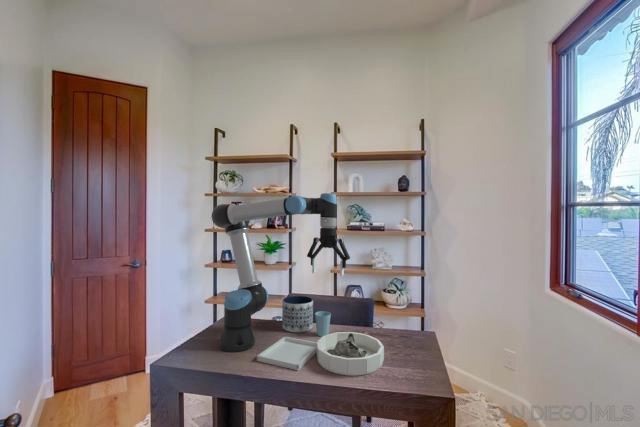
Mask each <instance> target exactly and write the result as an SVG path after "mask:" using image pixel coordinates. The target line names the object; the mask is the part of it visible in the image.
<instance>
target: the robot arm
mask: <svg viewBox="0 0 640 427" xmlns="http://www.w3.org/2000/svg"><path fill="white" fill-rule="evenodd" d="M337 197H338V196H337V194H335V193H327V192H325V193H323V192H322V193H321V194H320V197H304V196H300V195H291V196H289V197H285V198H284V197H283V198H278V199H272V200H271V199H270V200H263V201H262V200H261V201H258V202H257V201H256V202H250V203H243V204H235V203H229V204H228V203H220V204H218V205H216V206H215V207H214V208H213V210H212V212H211V220H212V221H211V222H213V224H214V225H215V226H216V227H218V228H220V229H224V230H225V231H224V232H225V234H226V235H228V236H229V239H230V242H231V243H230V244H231V248H232V252H233V257H234V263H235V266H236V271H237V275H238V279H239V286H238V287H237V289H236V290H231V291H230V292H228V293H226V295H224V296H225V297H224V302H223V310H224V312H223V315H224V317H223V318H224V319H223V320H224V321H223V330H222V334H221V338H220V340H219V348H220V349H221V350H222V351H224V352H229V353H235V352H236V353H237V352H242V351H243V352H244V351H247V350H249V349H251V348H253V347H254V346H255V343H256V338H255V335H254V332H253V329H252V316H253V315H255V313H257V312H260V311H261V310H263V309H264V308H265V307H266V305H267V304H268V301H269V293H268V290H267V288H266V287H264V285H263V284H262V283H263V282H262V281H261V280H259V279H258V276H257V272H256V266H255V262H254V257H253V253H252V249H251V244H250V239H249V234H248V232H249V230H250V222H251V221H254V220H262V219H263V220H264V219H269V218H270V219H271V218H278V217H283V216H286V217H287V216H291V215H292V216H294V215H320V216H319V218H320V220H319V225H320V229H319V236H320V237H317V236H316V237H313V241H312V244H311V245H310V248H309V250H308V253H307V254H306V257H307V258H309V259H310V266H311V267H312V268H311V269H312V270H311V272H312V274H316V273H317V258H316V257H317V256H318V254H319V253H320V252H321V251H322V249H327V248H328V249H333V250H334V251H335V253H336V254H337V256H338V257H339V258H340V260H339V263H340V265H339V267H340V268H339V270H340V271H339V275H340V276H341V277H343V276H344V275H345V273H344V272H345V269H346V267H347V261H348V260H350V259H351V256H350V254H349V252H348V249H347V248H346V245H345V243H344V238H343V237H340V238H337V236H338V235H337V234H338V232H337V231H338V230H337V228H336V227H338V225H337V224H338V223H337V221H338V218H337V211H338V201H337V200H338V198H337ZM318 243H320V244H319V245H318ZM337 243H338V244H339V246H340V248H339V246H338V245H337ZM317 245H318V247H317ZM316 247H317V248H316ZM340 249H341V250H340Z"/></svg>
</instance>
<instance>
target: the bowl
mask: <svg viewBox="0 0 640 427" xmlns="http://www.w3.org/2000/svg"><path fill="white" fill-rule="evenodd" d="M350 333H351V334H353V336H354V341H355V344H356V346H357V347H358V348H359V350H360V351H366V352H367V354H366V355H365V357H362V358H351V357H349V356H347V355H340V356H335V355H331V354H330V353H328V352H327V351H328V350H331V349H334V348H335V346H336V344H337V342H338V341H343V340H346V339H347V338H348V336H349V334H350ZM316 342H317V353H316V361H317V362H318V364H319V366H320V367H322V368H323V369H325V370H326V371H328V372H331V373H333V374H337V375H341V376H350V377H354V376H355V377H356V376H358V377H359V376H366V375H369V374H373V373H375V372H377V371H379V370H380V369H381V368H382V366H383V365H384V364H383V363H384V360H385V346H384V344H383V343H382V341H380V340H379V339H378V338H376V337H374V336H371V335H369V334H366V333H360V332H355V331H342V332H341V331H338V332H337V331H336V332H333V333H329V334H328V335H325V336H323V337H320V338H319V339H318V340H316Z"/></svg>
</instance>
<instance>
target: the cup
mask: <svg viewBox="0 0 640 427" xmlns="http://www.w3.org/2000/svg"><path fill="white" fill-rule="evenodd" d="M314 315H315V327H316V328H315V329H316V335H317V336H318V337H319V336H320V338H322V337H323V336H325V335H328V334H330V333H329V332H330V324H331V315H332V313H331V312H329V311H324V310H321V311H316V312H315V313H314Z"/></svg>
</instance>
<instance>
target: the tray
mask: <svg viewBox="0 0 640 427" xmlns="http://www.w3.org/2000/svg"><path fill="white" fill-rule="evenodd" d="M315 354H316V355H317V341H316V342H315V341H311V340H306V339H300V338H296V337H290V336H283V337H282V338H280V339H279V340H277V341H276V342H275V343H273V344H271V345H270V346H269V347H267V348H266V349H264V350H263V351H261V352H260V353H258V355H256V361H257V362H261V363H265V364H270V365H273V366H277V367H283V368H285V369H286V368H287V369H291V370H295V371H299V370H301V368H302V367H303V366H304V365H305V364H307V363H308V361H309V360H311V358H313V357H314V356H315Z"/></svg>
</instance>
